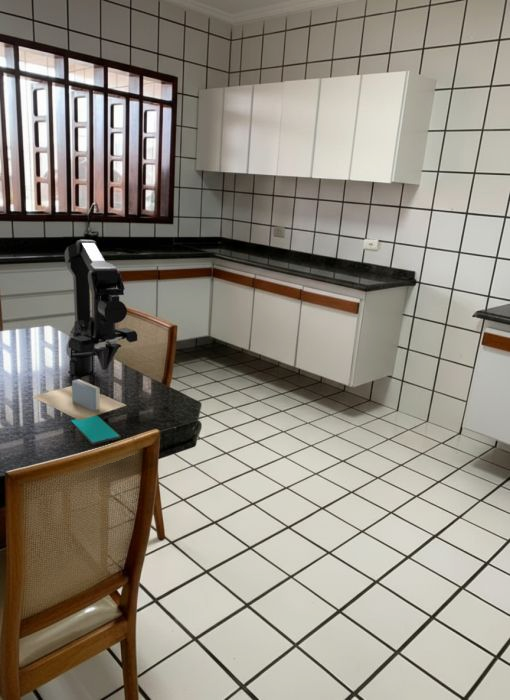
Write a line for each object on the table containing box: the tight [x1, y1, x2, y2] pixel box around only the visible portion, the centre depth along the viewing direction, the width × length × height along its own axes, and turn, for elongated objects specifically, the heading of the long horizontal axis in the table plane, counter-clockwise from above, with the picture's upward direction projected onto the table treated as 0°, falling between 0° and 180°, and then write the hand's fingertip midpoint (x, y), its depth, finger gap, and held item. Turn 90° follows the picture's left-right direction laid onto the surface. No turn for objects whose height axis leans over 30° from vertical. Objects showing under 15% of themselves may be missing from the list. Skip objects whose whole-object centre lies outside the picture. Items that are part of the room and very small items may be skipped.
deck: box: [71, 378, 101, 411], centre depth 144 cm, size 2×9×6 cm, turn 52°
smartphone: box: [70, 415, 122, 446], centre depth 132 cm, size 7×1×15 cm
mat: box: [31, 385, 127, 421], centre depth 148 cm, size 15×22×1 cm
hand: (104, 369), depth 147 cm, fingers closed
